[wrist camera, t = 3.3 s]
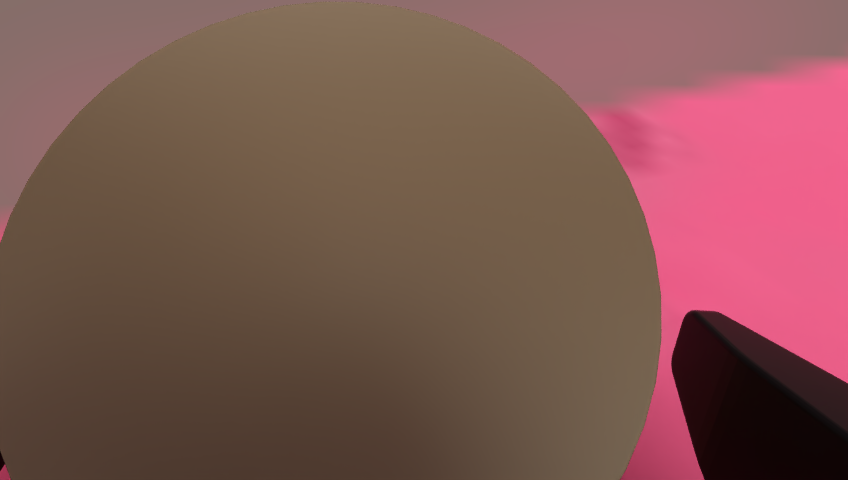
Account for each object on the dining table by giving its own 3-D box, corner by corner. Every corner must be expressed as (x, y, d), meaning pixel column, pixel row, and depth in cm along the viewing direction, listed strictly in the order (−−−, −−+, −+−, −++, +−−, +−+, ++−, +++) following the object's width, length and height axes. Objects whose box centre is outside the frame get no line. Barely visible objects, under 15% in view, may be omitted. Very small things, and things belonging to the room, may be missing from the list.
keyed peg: (461, 488, 15) (690, 683, 3) (299, 479, 15) (-114, 647, 3) (467, 290, 16) (631, -90, 5) (320, 282, 16) (103, -125, 5)
